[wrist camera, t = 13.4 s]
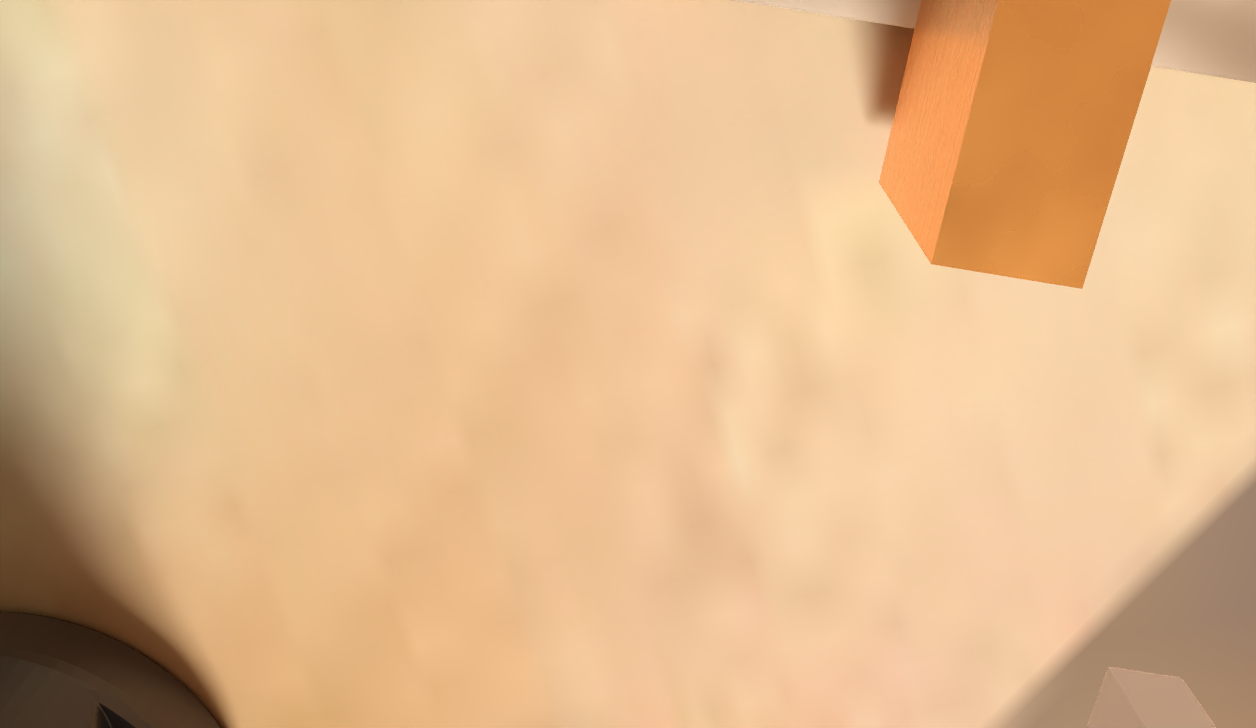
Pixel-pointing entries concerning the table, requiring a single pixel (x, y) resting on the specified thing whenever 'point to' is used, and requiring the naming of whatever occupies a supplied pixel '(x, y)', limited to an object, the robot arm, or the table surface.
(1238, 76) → the board
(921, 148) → the square frame with handle
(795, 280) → the table surface
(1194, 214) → the table surface
